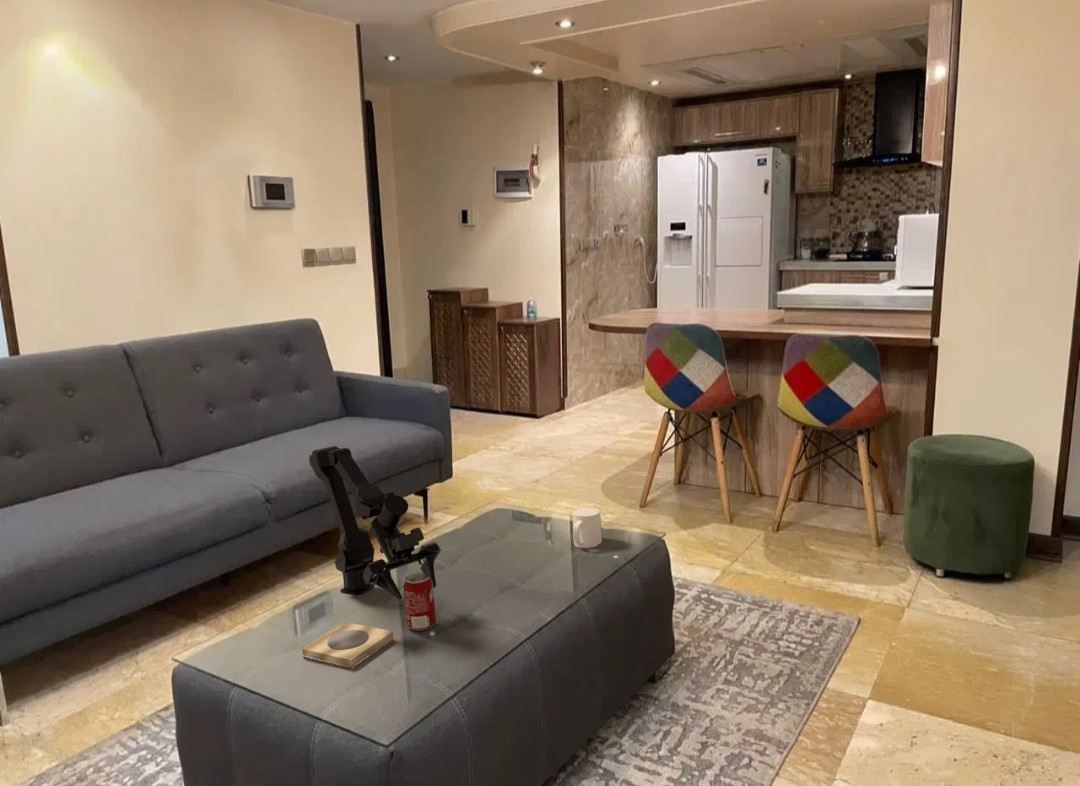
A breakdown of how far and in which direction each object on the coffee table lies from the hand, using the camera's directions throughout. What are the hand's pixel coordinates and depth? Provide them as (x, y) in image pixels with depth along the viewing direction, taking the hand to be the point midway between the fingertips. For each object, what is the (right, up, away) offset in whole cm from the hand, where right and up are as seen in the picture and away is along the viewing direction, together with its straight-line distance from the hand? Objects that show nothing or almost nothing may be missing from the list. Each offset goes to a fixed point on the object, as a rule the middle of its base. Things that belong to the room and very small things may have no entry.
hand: (418, 593), depth 187 cm
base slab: (-14, -10, -8) cm, 19 cm away
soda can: (+1, -8, +1) cm, 8 cm away
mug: (+42, +2, +47) cm, 63 cm away
